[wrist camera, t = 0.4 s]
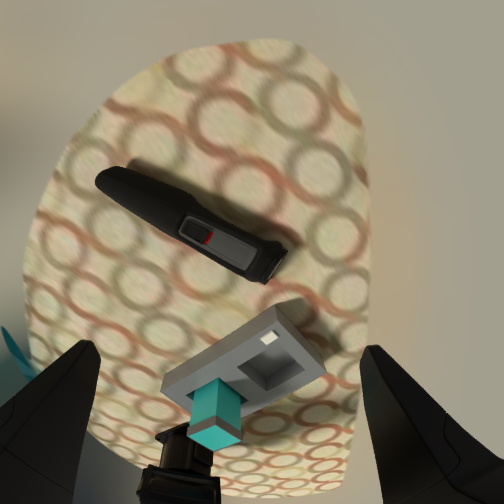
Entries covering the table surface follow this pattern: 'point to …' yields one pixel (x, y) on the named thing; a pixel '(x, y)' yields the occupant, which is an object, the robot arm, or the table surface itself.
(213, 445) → the plug
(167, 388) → the grey flat block
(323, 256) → the table surface
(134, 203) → the electric trimmer
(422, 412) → the robot arm
